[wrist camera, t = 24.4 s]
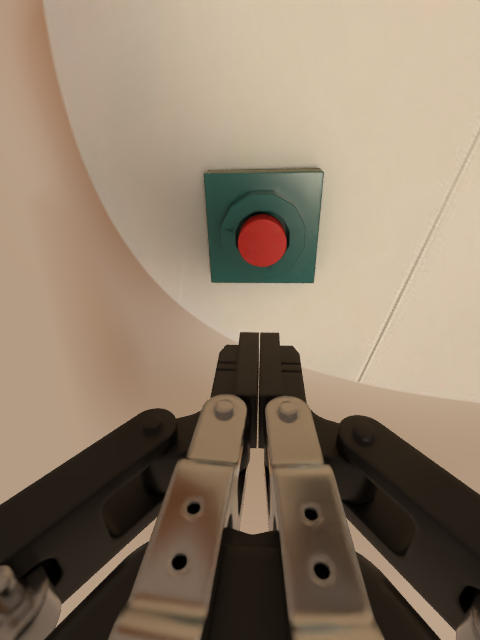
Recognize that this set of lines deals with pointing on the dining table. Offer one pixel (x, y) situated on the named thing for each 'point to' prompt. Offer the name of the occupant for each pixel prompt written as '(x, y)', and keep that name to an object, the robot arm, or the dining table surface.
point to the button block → (272, 199)
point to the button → (262, 240)
